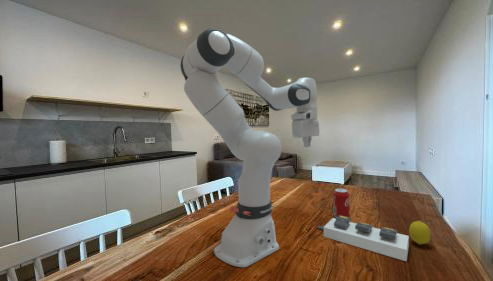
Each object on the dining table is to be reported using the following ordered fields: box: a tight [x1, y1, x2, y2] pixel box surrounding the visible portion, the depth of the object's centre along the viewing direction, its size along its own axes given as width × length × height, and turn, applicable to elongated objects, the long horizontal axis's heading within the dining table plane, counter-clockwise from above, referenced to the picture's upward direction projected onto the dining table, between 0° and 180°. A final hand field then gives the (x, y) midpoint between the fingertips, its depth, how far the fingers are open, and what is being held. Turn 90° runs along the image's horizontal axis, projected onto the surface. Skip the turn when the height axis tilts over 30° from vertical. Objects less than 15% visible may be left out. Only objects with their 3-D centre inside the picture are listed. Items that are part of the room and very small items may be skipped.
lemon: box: [408, 220, 432, 246], centre depth 70 cm, size 6×6×8 cm
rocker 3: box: [379, 226, 398, 240], centre depth 69 cm, size 6×4×2 cm, turn 140°
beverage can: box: [332, 188, 350, 219], centre depth 93 cm, size 6×6×12 cm
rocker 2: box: [355, 221, 373, 232], centre depth 73 cm, size 6×4×2 cm, turn 140°
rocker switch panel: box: [317, 217, 410, 262], centre depth 74 cm, size 10×28×4 cm, turn 50°
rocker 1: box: [334, 215, 352, 229], centre depth 78 cm, size 6×4×2 cm, turn 140°
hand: (307, 147), depth 95 cm, fingers closed
